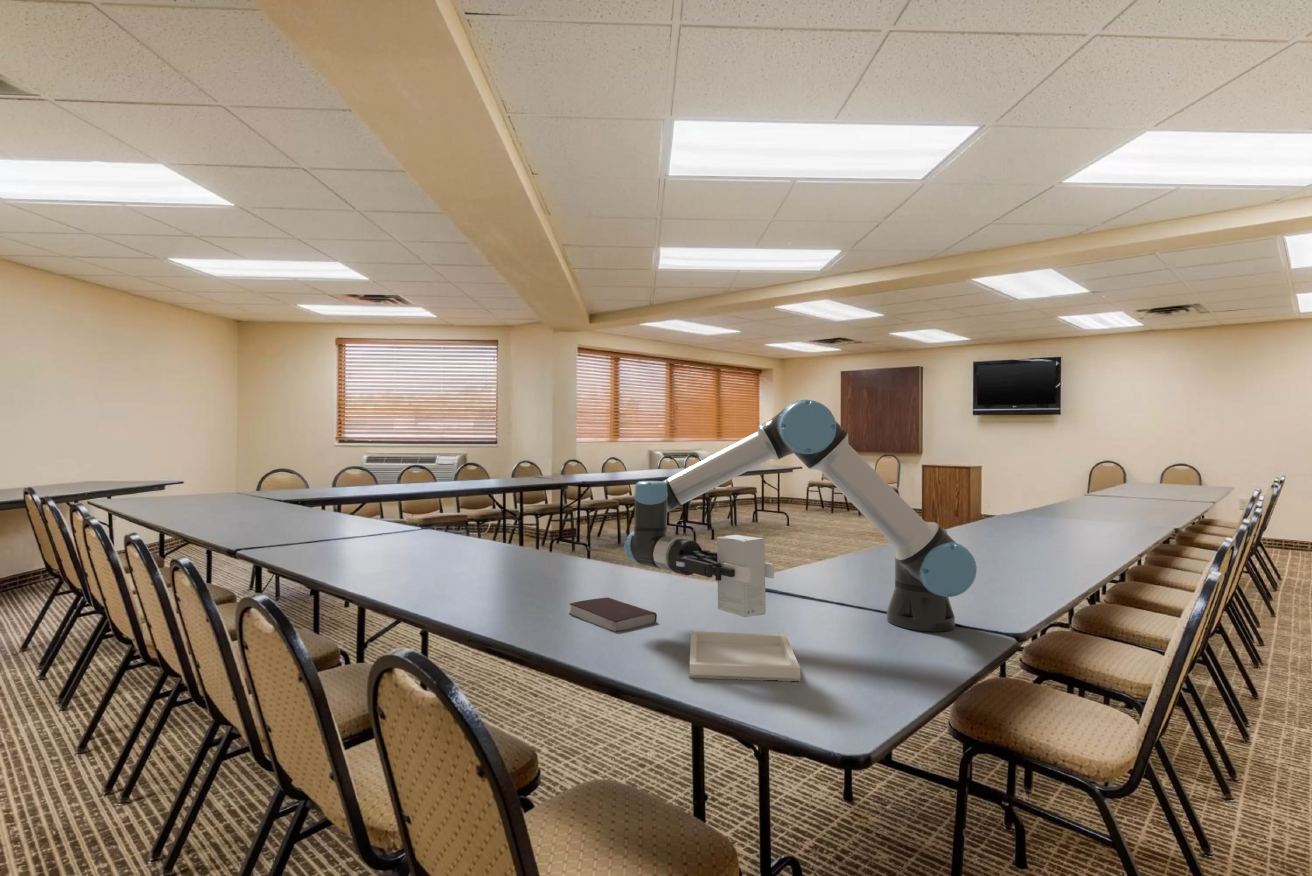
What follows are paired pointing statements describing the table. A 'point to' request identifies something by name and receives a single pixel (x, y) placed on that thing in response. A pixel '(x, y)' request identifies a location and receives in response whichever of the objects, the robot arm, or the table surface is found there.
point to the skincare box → (736, 593)
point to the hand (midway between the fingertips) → (761, 573)
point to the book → (612, 613)
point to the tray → (742, 656)
